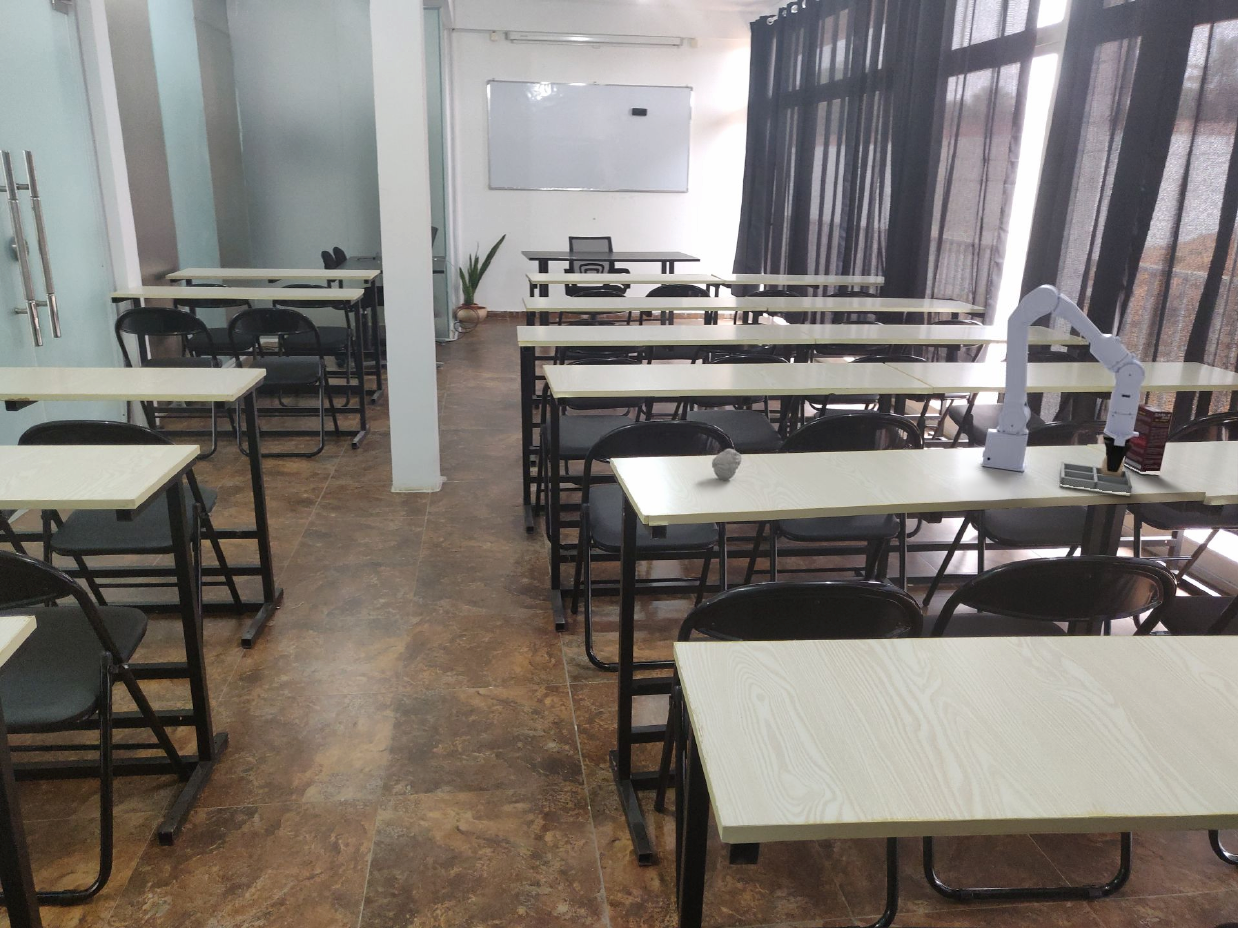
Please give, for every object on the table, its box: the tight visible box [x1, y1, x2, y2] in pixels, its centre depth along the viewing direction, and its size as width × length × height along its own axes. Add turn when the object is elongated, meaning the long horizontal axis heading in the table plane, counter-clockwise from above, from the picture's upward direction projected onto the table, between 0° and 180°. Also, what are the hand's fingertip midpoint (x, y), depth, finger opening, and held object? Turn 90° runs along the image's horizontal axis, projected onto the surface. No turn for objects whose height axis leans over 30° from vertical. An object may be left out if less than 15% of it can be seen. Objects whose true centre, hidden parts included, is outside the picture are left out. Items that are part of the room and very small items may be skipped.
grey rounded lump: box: [711, 448, 742, 481], centre depth 201 cm, size 6×7×7 cm
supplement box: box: [1123, 403, 1173, 472], centre depth 217 cm, size 9×5×16 cm, turn 179°
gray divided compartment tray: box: [1059, 461, 1133, 493], centre depth 207 cm, size 14×14×2 cm
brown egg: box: [1100, 455, 1124, 477], centre depth 208 cm, size 4×4×5 cm
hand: (1111, 468), depth 208 cm, fingers closed on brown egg, 4 cm apart
